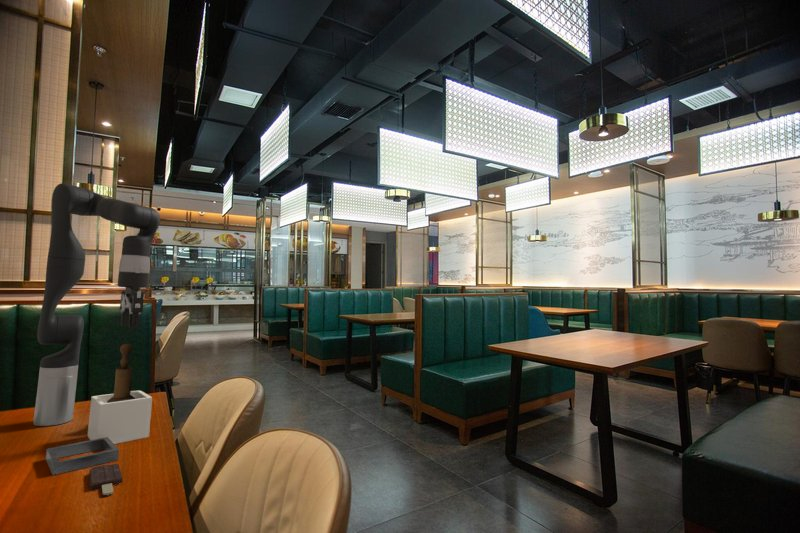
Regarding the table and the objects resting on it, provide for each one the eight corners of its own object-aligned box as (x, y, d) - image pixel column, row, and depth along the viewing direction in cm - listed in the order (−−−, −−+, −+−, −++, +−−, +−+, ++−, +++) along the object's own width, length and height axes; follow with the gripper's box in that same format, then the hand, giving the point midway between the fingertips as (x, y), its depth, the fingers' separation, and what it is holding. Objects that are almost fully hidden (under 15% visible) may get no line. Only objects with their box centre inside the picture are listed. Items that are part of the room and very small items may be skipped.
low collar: (45, 459, 93) (46, 448, 94) (106, 446, 102) (107, 437, 102) (52, 475, 85) (53, 463, 86) (117, 460, 94) (118, 449, 94)
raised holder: (87, 436, 109) (91, 396, 111) (136, 426, 118) (140, 390, 119) (96, 447, 101) (100, 404, 102) (148, 436, 110) (152, 397, 111)
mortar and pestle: (102, 411, 107) (108, 345, 108) (112, 405, 113) (118, 342, 115) (129, 410, 108) (135, 345, 110) (138, 404, 115) (143, 342, 116)
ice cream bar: (123, 494, 79) (117, 469, 90) (124, 486, 79) (118, 461, 90) (91, 502, 75) (88, 475, 87) (91, 493, 76) (89, 467, 87)
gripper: (113, 271, 116) (107, 325, 115) (125, 269, 107) (120, 328, 105) (142, 273, 122) (137, 324, 120) (156, 271, 112) (151, 328, 111)
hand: (129, 326), depth 113 cm, fingers open, 8 cm apart
